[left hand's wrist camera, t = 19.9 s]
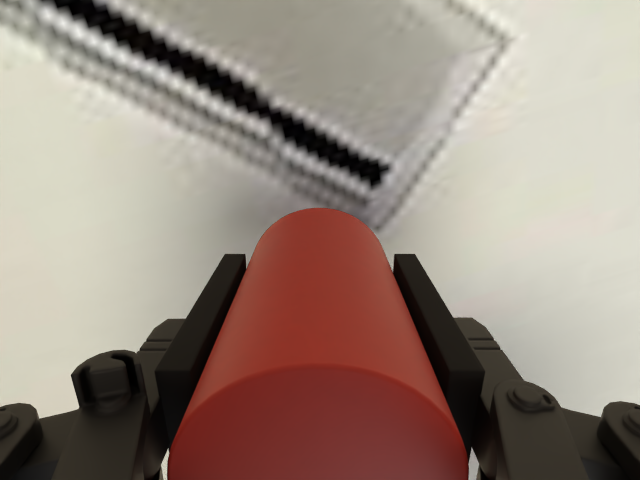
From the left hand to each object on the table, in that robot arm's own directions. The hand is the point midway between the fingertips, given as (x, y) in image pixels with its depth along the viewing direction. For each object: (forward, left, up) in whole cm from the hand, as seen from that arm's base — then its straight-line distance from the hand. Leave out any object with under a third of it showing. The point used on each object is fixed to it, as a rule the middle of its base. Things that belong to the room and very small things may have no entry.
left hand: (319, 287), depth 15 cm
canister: (0, 0, -1) cm, 1 cm away
